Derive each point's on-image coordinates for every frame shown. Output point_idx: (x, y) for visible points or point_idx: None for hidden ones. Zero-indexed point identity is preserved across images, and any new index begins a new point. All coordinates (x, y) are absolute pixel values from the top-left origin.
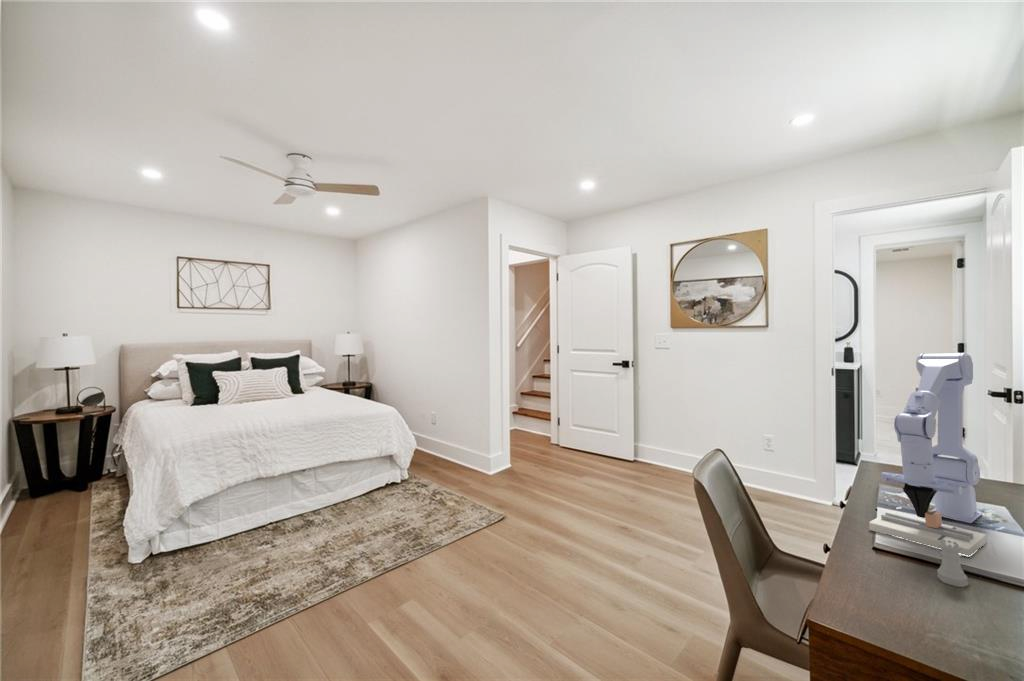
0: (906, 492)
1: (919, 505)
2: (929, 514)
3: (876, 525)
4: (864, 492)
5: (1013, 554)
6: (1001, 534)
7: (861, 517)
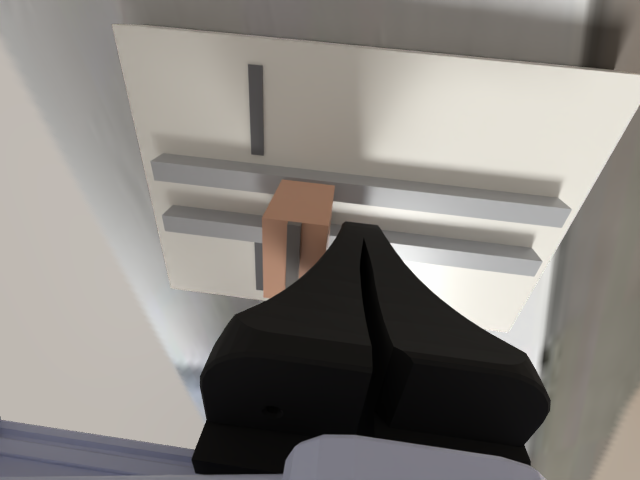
0: (488, 340)
1: (358, 262)
2: (300, 222)
3: (599, 72)
4: (568, 466)
5: (98, 215)
6: (194, 352)
7: (627, 242)
